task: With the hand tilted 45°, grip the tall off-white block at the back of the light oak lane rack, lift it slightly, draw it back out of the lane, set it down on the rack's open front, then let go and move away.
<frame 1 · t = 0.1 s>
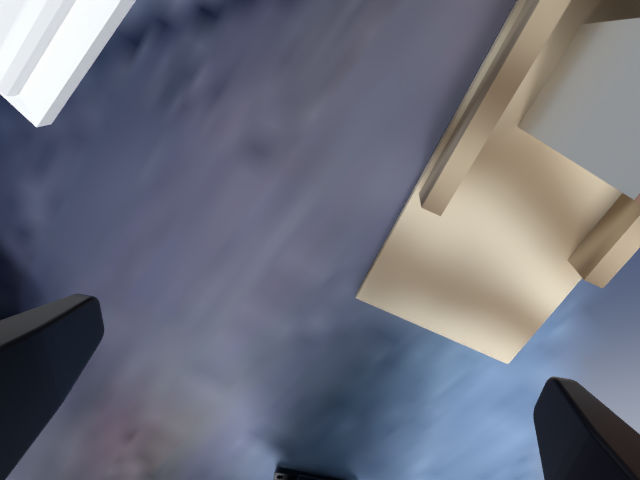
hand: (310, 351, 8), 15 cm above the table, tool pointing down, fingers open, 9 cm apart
lane rack: (525, 190, 20), on the table
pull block: (594, 99, 18), resting on lane rack
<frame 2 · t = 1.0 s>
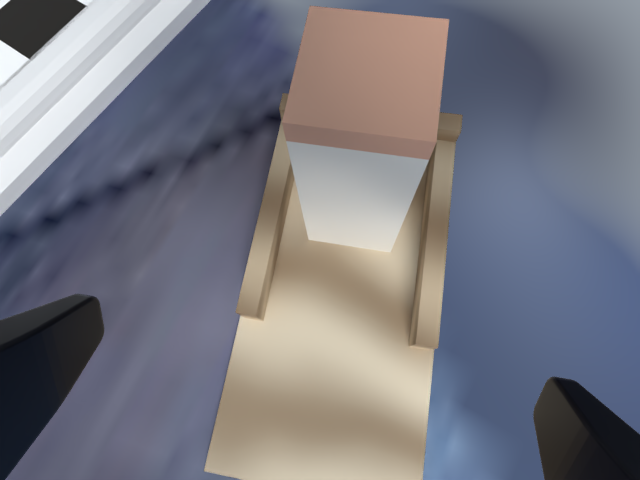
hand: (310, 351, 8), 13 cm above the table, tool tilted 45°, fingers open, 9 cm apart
lane rack: (341, 292, 22), on the table
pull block: (355, 208, 23), resting on lane rack
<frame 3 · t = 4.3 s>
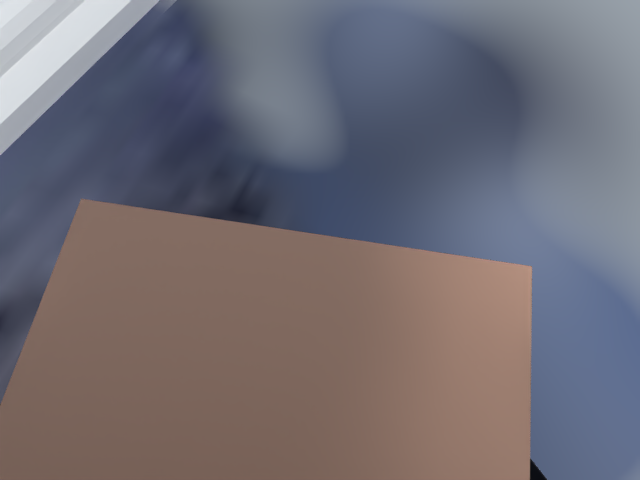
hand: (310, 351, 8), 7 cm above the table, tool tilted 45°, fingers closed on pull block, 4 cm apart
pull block: (315, 405, 14), resting on lane rack, touching gripper
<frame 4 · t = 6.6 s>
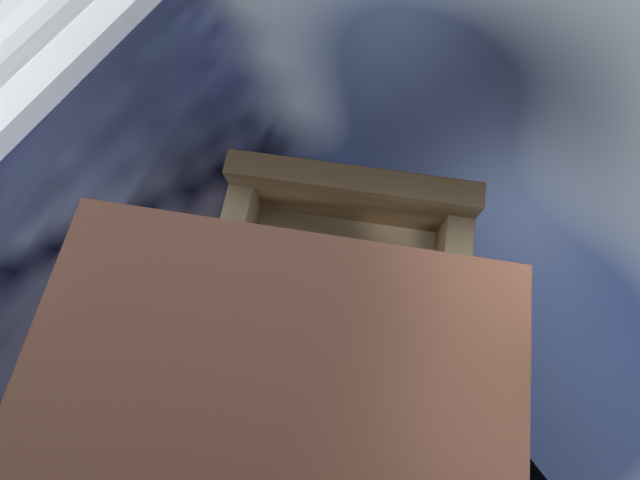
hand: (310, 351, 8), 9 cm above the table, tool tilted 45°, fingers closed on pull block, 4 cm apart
lane rack: (313, 432, 15), on the table
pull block: (315, 405, 14), point 2 cm above the table, touching gripper
when the fingers open (8 cm above the table, at t = 8.7 s): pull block drops 1 cm, resting on lane rack.
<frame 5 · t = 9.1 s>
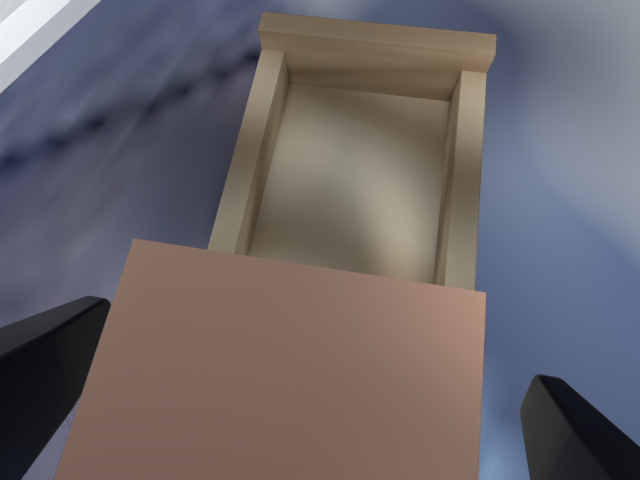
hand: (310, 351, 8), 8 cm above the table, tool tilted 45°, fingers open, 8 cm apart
lane rack: (339, 268, 17), on the table
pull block: (316, 403, 15), resting on lane rack
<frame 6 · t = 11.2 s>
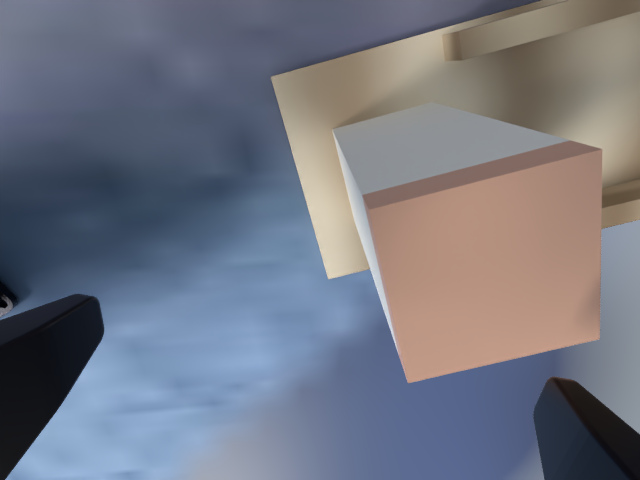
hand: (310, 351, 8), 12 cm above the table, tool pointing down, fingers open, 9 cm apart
lane rack: (500, 133, 19), on the table
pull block: (391, 164, 19), resting on lane rack
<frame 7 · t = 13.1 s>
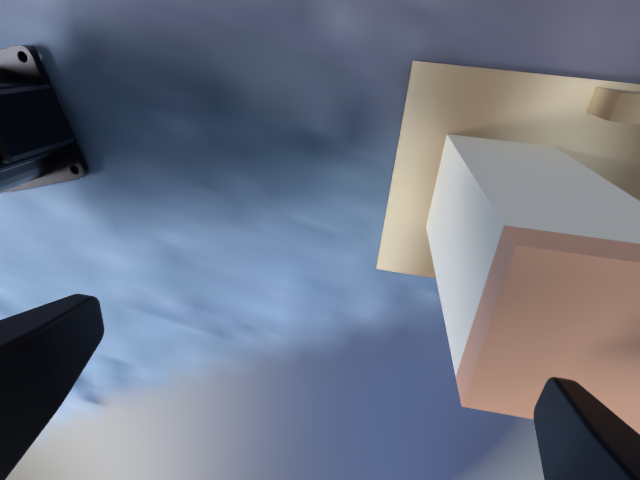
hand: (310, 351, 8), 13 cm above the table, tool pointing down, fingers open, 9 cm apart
lane rack: (601, 201, 19), on the table
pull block: (485, 189, 19), resting on lane rack
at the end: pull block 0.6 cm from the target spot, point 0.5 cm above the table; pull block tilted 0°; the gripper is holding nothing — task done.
